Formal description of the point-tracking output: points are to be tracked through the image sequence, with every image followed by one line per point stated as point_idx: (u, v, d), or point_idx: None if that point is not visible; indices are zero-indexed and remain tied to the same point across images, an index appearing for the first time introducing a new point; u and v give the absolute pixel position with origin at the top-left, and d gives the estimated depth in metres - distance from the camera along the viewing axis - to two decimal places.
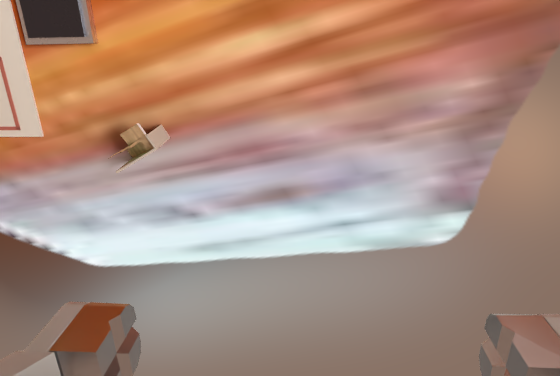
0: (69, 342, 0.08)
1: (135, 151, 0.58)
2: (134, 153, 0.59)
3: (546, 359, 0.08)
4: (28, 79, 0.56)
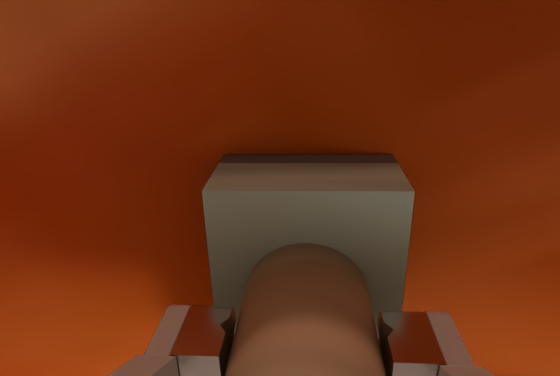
0: (186, 346, 0.08)
1: None
2: None
3: (413, 355, 0.08)
4: None
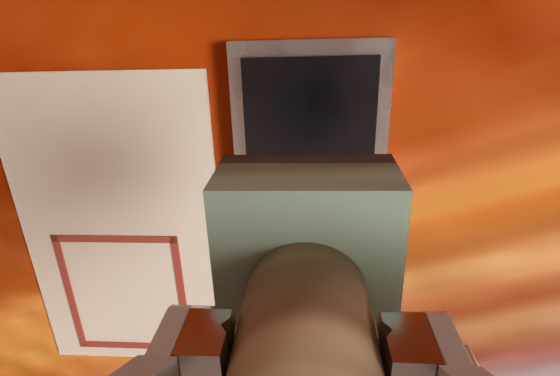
0: (187, 345, 0.08)
1: None
2: None
3: (412, 355, 0.08)
4: None
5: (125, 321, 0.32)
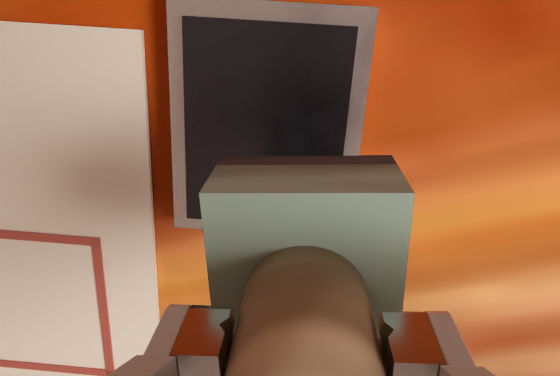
0: (186, 346, 0.08)
1: None
2: None
3: (414, 355, 0.08)
4: (155, 287, 0.24)
5: (34, 337, 0.26)
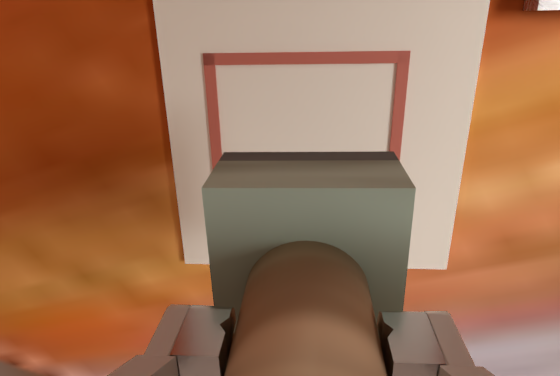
0: (186, 345, 0.08)
1: None
2: None
3: (413, 355, 0.08)
4: (468, 119, 0.19)
5: None
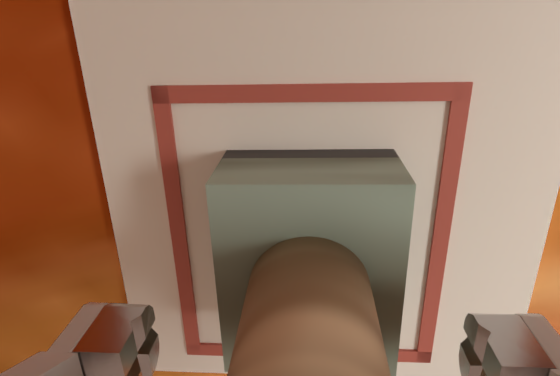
0: (91, 342, 0.08)
1: None
2: None
3: (520, 358, 0.08)
4: (556, 183, 0.12)
5: None
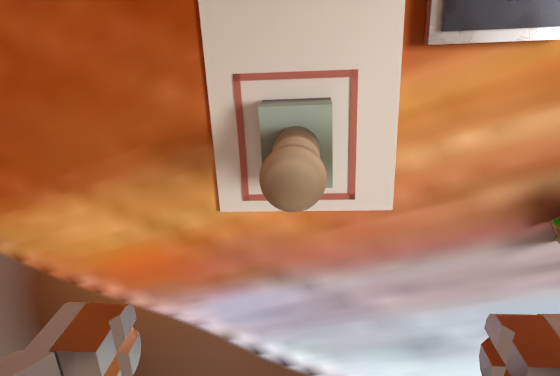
0: (68, 342, 0.08)
1: None
2: None
3: (546, 359, 0.08)
4: (397, 110, 0.30)
5: None
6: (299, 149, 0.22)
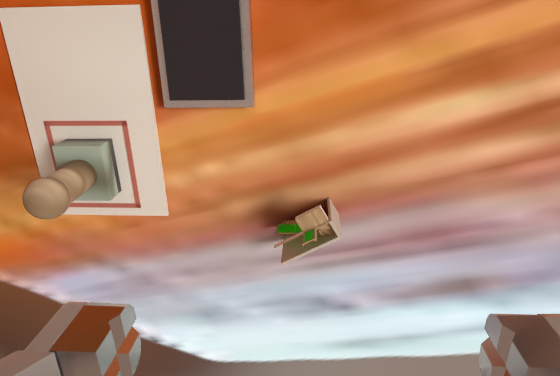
0: (69, 342, 0.08)
1: None
2: None
3: (546, 359, 0.08)
4: (158, 148, 0.44)
5: None
6: (44, 181, 0.36)
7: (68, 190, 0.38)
